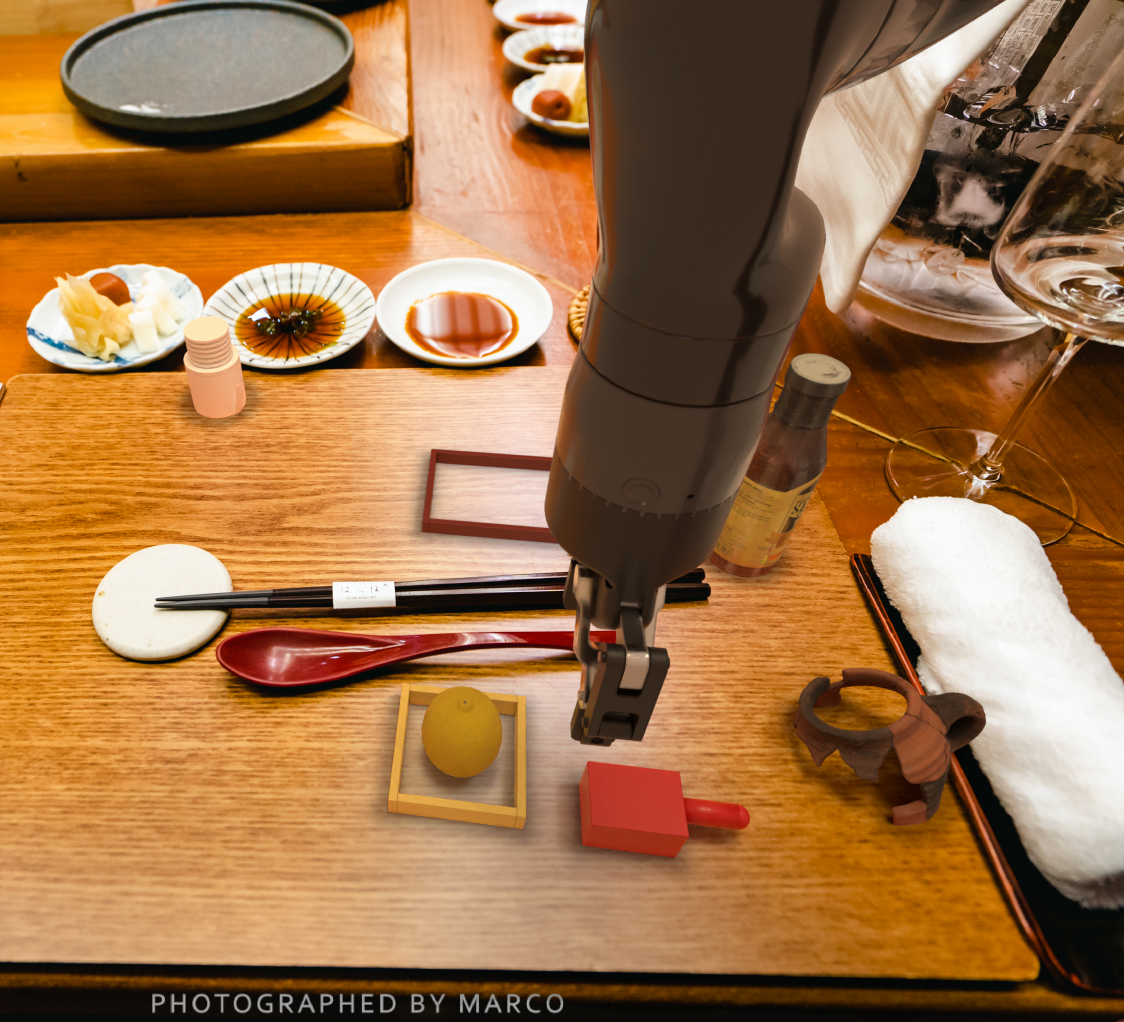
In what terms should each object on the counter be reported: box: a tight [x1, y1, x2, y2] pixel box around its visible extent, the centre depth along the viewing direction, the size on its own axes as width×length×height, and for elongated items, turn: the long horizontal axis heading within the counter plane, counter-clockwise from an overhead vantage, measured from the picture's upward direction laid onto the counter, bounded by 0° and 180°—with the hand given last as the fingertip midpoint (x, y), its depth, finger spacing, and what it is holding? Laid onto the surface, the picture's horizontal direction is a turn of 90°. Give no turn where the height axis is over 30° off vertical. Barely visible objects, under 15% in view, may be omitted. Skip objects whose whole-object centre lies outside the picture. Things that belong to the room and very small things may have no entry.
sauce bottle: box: [708, 353, 852, 578], centre depth 64 cm, size 6×6×20 cm
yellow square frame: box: [387, 682, 527, 830], centre depth 57 cm, size 9×9×2 cm
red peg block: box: [578, 760, 751, 858], centre depth 53 cm, size 10×4×4 cm, turn 82°
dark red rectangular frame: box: [421, 448, 559, 545], centre depth 75 cm, size 14×10×2 cm
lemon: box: [421, 685, 503, 779], centre depth 55 cm, size 6×6×8 cm
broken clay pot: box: [793, 667, 987, 826], centre depth 55 cm, size 12×10×8 cm
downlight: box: [182, 315, 247, 419], centre depth 85 cm, size 8×7×10 cm
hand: (585, 666), depth 44 cm, fingers open, 8 cm apart
